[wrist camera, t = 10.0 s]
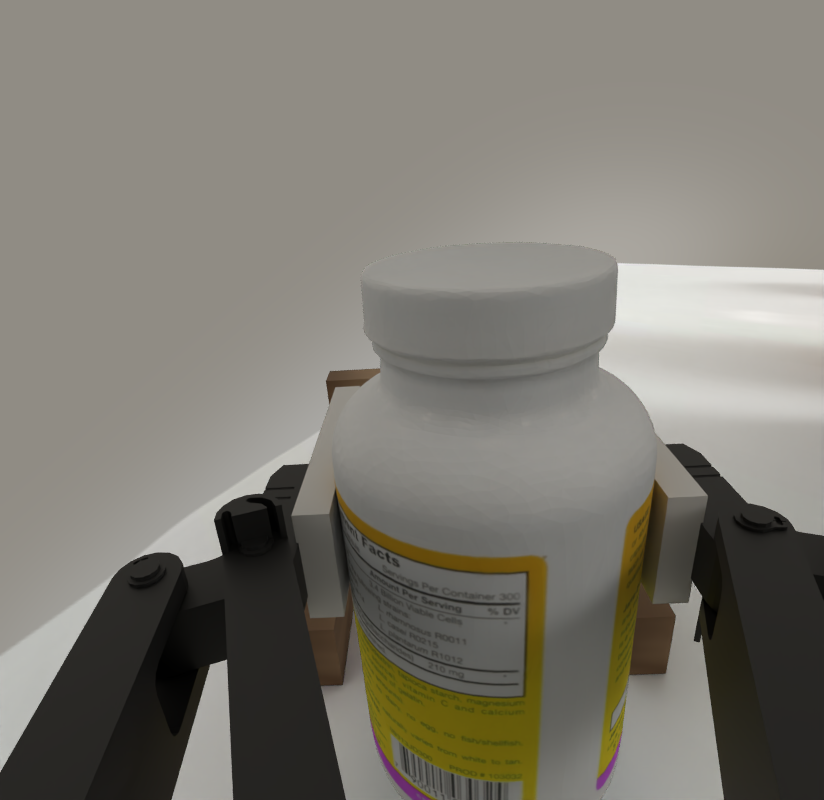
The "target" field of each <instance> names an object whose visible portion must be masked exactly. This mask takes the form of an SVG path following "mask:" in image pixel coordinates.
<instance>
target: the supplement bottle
mask: <svg viewBox="0 0 824 800" xmlns="http://www.w3.org/2000/svg"><path fill="white" fill-rule="evenodd" d="M617 277H618V266H617V262H616V259H615V258H614V257H613V256H611V255H609V254H607V253H605V252H602V251H599V250H596V249H592V248H588V247H582V246H571V245H561V244H547V243H532V242H531V243H530V242H529V243H528V242H526V243H525V242H524V243H523V242H503V243H477V244H465V245H452V246H442V247H433V248H427V249H421V250H416V251H411V252H406V253H401V254H397V255H393V256H389V257H386V258H383V259H380V260H377V261H375V262H373V263H371V264H369V265H368V266H367V267H366V268H364V270H363V271H362V274H361V289H362V300H363V313H364V332H365V334H366V336H367V337H368V338H369V339H370V340H371V341H372V345H373V349H374V351H375V353H376V354H377V355H378V356H379V357H380V373H378V374H377V375H375V376H374V377H372V378H371V379H370V380H368V381H367V382H366V383H364V384H363V385H362V386H361V387H360V388H359V389H358V390H357V391H356V392H355V393H354V394H353V395H352V397H351V398H350V399H349V400H348V402H347V403H346V405H345V406H344V408H343V410H342V411H341V413H340V415H339V418H338V420H337V422H336V426H335V429H334V433H333V439H332V461H333V469H334V481H335V487H336V493H337V500H338V506H339V512H340V519H341V525H342V532H343V538H344V545H345V551H346V558H347V565H348V572H349V579H350V586H351V593H352V600H353V607H354V614H355V623H356V627H357V633H358V640H359V647H360V653H361V659H362V667H363V674H364V681H365V688H366V695H367V701H368V707H369V714H370V721H371V726H372V731H373V736H374V740H375V745H376V749H377V753H378V755H379V758H380V760H381V763H382V766H383V768H384V770H385V772H386V774H387V776H388V778H389V780H390V781H391V783H392V785H393V786H394V788H395V789H396V791H397V792H398V793H399V795H400V796H401V797H402V798H403V800H600V799H601V798H602V797H603V795H604V793H605V791H606V790H607V788H608V786H609V784H610V781H611V778H612V776H613V773H614V770H615V767H616V762H617V757H618V752H619V747H620V741H621V736H622V728H623V719H624V712H625V704H626V695H627V689H628V680H629V672H630V664H631V655H632V647H633V639H634V631H635V623H636V615H637V608H638V599H639V590H640V583H641V575H642V568H643V559H644V552H645V545H646V538H647V531H648V523H649V516H650V509H651V502H652V496H653V489H654V480H655V470H656V461H657V441H656V436H655V432H654V427H653V424H652V422H651V419H650V417H649V415H648V412H647V410H646V409H645V407H644V405H643V404H642V402H641V401H640V400H639V398H638V397H637V396H636V394H635V393H634V392H633V391H632V390H631V389H630V388H629V387H628V386H627V385H626V384H625V383H624V382H622V381H621V380H620V379H618V378H617V377H616V376H614V375H613V374H611V373H609V372H607V371H606V370H604V369H602V368H599V351H600V350H601V349H602V348H603V347H604V346H605V344H606V341H607V339H608V333H609V332H610V331H611V329H612V328H613V326H614V323H615V316H616V297H617Z"/></svg>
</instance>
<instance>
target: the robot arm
mask: <svg viewBox="0 0 824 800" xmlns="http://www.w3.org/2000/svg"><path fill="white" fill-rule="evenodd" d="M359 388H360V386H349V387H335V390H334V393H333V396H332V399H331V402H330V404H329V408H328V410H327V413H326V416H325V419H324V422H323V425H322V428H321V431H320V434H319V436H318V439H317V442H316V445H315V448H314V451H313V454H312V457H311V460H310V463H309V464H299V465H283V466H282V467H281V468H280V469H279V470H277V471H276V472H275V473H274V474H273V475H272V476H271V477H270V479H269V482H268V484H267V486H266V491H264V493H263V494H253V495H246V496H243V497H240V498H237V499H234V500H232V501H230V502H229V503H227V504H225V505H224V506H223V507H222V508H221V509H220V510H219V511H218V512H217V513H216V516H215V519H214V522H215V526H216V530H217V534H218V538H219V542H220V546H221V550H222V554H223V555H222V556H220V557H218V558H216V559H213V560H210V561H207V562H203V563H199V564H196V565H192V566H188V567H183V564H182V561H181V560H180V558H179V557H178V556H176V555H174V554H171V553H153V554H149V555H144V556H142V557H140V558H137V559H135V560H133V561H131V562H129V563H128V564H127V565H125V566H124V567H122V568H121V569H120V570H119V571H118V572H117V573H116V574H115V576H114V577H113V578H112V580H111V581H110V583H109V585H108V587H107V588H106V590H105V592H104V593H103V595H102V597H101V599H100V600H99V602H98V604H97V606H96V607H95V609H94V611H93V613H92V614H91V616H90V618H89V619H88V621H87V623H86V625H85V626H84V628H83V630H82V632H81V633H80V635H79V637H78V639H77V640H76V642H75V644H74V645H73V647H72V649H71V651H70V652H69V654H68V656H67V658H66V659H65V661H64V663H63V665H62V666H61V668H60V670H59V671H58V673H57V675H56V677H55V678H54V680H53V682H52V684H51V685H50V687H49V689H48V691H47V692H46V694H45V696H44V697H43V699H42V701H41V703H40V704H39V706H38V708H37V710H36V711H35V713H34V715H33V717H32V718H31V720H30V722H29V724H28V725H27V727H26V729H25V730H24V732H23V734H22V736H21V737H20V739H19V741H18V743H17V744H16V746H15V748H14V750H13V751H12V753H11V755H10V756H9V758H8V760H7V762H6V763H5V765H4V767H3V769H2V770H1V772H0V800H171V799H172V796H173V792H174V789H175V785H176V782H177V778H178V775H179V771H180V768H181V764H182V761H183V757H184V754H185V750H186V747H187V743H188V740H189V737H190V733H191V730H192V726H193V723H194V719H195V716H196V712H197V709H198V705H199V702H200V698H201V695H202V691H203V688H204V684H205V681H206V677H207V674H208V670H209V667H210V664H214V663H217V662H220V661H223V660H226V659H227V667H228V690H229V713H230V735H231V758H232V781H233V800H346V798H345V793H344V789H343V784H342V780H341V775H340V771H339V766H338V762H337V757H336V753H335V748H334V744H333V739H332V735H331V730H330V726H329V721H328V717H327V712H326V708H325V703H324V699H323V694H322V690H321V685H320V681H319V676H318V671H317V667H316V662H315V658H314V653H313V649H312V644H311V640H310V635H309V631H308V626H307V622H306V617H305V613H304V611H305V607H306V602H307V604H308V609H309V615H310V618H327V617H345V610H346V604H347V597H348V591H349V585H350V579H349V572H348V565H347V558H346V551H345V545H344V538H343V532H342V525H341V519H340V512H339V506H338V500H337V493H336V487H335V481H334V469H333V461H332V439H333V433H334V429H335V426H336V422H337V420H338V418H339V415H340V413H341V411H342V410H343V408H344V406H345V405H346V403H347V402H348V400H349V399H350V398H351V397H352V395H353V394H354V393H355V392H356V391H357V390H358V389H359ZM655 436H656V441H657V461H656V470H655V480H654V489H653V496H652V502H651V509H650V516H649V523H648V531H647V538H646V545H645V552H644V559H643V568H642V575H641V583H642V585H643V587H644V589H645V591H646V593H647V594H648V596H649V598H650V600H651V602H652V604H666V603H688V601H689V596H690V590H691V585H692V581H693V583H694V584H695V586H696V587H697V589H698V590H699V592H700V593H701V595H702V601H701V606H700V611H699V616H698V621H697V626H696V631H695V636H694V641H695V642H700V638H701V635H702V640H703V647H704V655H705V662H706V669H707V677H708V684H709V691H710V699H711V706H712V714H713V721H714V728H715V736H716V743H717V750H718V758H719V765H720V772H721V780H722V787H723V794H724V800H824V536H822V535H815V534H808V533H802V532H797V531H795V529H794V527H793V526H792V524H791V523H790V522H789V520H788V519H786V518H785V517H783V516H782V515H780V514H779V513H778V512H775V511H773V510H771V509H768V508H766V507H763V506H758V505H754V504H748V503H747V502H746V501H745V500H744V499H743V498H742V497H741V496H740V495H739V494H738V493H737V492H736V491H735V490H734V489H733V487H732V486H731V485H730V484H729V483H728V482H727V481H726V480H725V479H724V478H723V477H720V474H719V472H718V471H717V470H716V469H715V468H714V467H711V464H710V463H709V462H708V461H707V460H706V459H705V457H704V456H703V455H702V454H701V453H699V452H697V451H695V450H694V449H692V448H690V447H688V446H686V445H685V444H666V445H665V444H664V443H663V442H662V441H661V439H660V438H659V437H658V436H657V435H656V433H655Z"/></svg>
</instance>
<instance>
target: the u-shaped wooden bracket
mask: <svg viewBox="0 0 824 800" xmlns="http://www.w3.org/2000/svg"><path fill="white" fill-rule="evenodd" d="M378 373H380V369H364V370H344V371H330V373H329V375H328V378H327V380H326V384H327V391H328V399H329V404H330V402H331V399H332V396H333V393H334V390H335V387H349V386H360V387H361V386H362V385H363V384H364V383H366V382H367V381H368V380H370V379H371V378H372V377H374V376H375V375H377V374H378ZM353 609H354V607H353V600H352V593H351V586H350V585H349V591H348V597H347V604H346V610H345V617H327V618H310V615H309V609H308V604H307V602H306V607H305V611H304V613H305V617H306V622H307V626H308V631H309V635H310V640H311V644H312V649H313V653H314V658H315V662H316V667H317V671H318V676H319V681H320V685H343V679H344V672H345V665H346V658H347V651H348V644H349V637H350V630H351V623H352V616H353ZM675 618H676V616H675V614H674V612H673V611H672V609H671V607H670V605H669V603H666V604H652V602H651V600H650V598H649V596H648V594H647V593H646V591H645V589H644V587H643V585H642V583H640V590H639V599H638V608H637V615H636V623H635V631H634V639H633V647H632V655H631V664H630V672H629V675H635V674H663V673H666V669H667V663H668V658H669V652H670V646H671V641H672V635H673V629H674V623H675Z"/></svg>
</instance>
